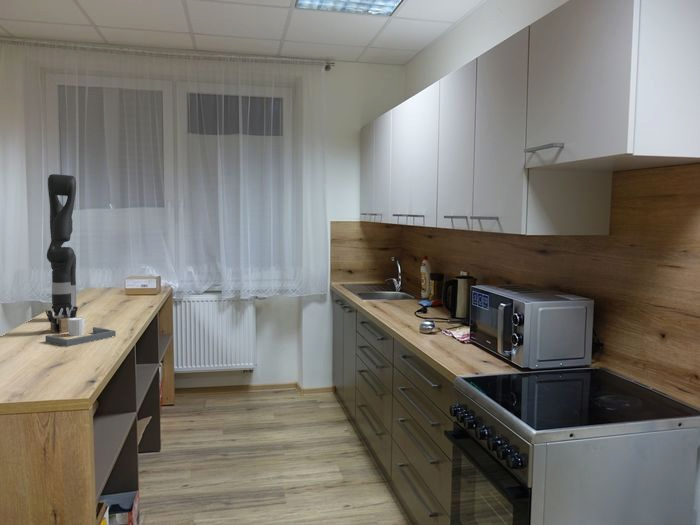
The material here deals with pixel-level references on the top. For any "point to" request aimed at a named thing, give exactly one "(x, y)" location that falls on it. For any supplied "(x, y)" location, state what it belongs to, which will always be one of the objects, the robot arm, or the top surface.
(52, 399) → the top surface
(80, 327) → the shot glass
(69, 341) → the grey u-shaped bracket
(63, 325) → the block
